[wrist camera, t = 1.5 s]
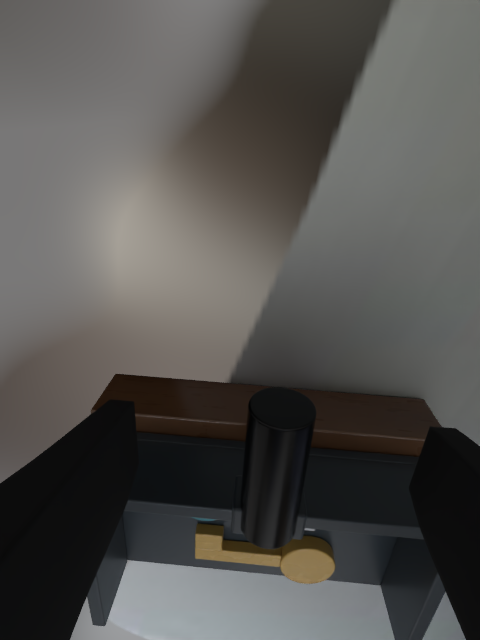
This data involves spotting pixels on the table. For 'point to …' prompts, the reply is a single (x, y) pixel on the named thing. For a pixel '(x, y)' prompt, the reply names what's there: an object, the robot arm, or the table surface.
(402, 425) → the stand
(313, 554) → the brass key
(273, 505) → the dark grey tray
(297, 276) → the table surface
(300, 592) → the table surface
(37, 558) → the robot arm
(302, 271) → the table surface
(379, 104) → the table surface
